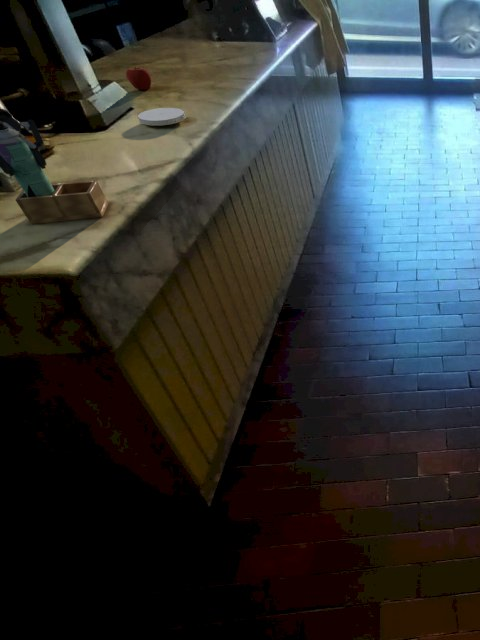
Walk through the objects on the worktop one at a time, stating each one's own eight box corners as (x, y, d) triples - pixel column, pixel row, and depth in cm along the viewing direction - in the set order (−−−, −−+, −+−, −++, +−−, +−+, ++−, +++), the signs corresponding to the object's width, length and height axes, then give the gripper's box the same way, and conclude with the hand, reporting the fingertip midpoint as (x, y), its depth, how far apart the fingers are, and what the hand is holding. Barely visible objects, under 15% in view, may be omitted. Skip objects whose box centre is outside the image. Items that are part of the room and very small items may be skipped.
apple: (129, 88, 200) (120, 65, 195) (151, 85, 204) (142, 62, 199) (136, 93, 196) (126, 69, 191) (158, 89, 201) (149, 67, 195)
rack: (31, 224, 121) (14, 199, 117) (40, 209, 127) (25, 186, 122) (102, 216, 125) (89, 193, 121) (108, 203, 131) (96, 180, 126)
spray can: (59, 203, 127) (8, 116, 113) (68, 210, 125) (16, 122, 111) (34, 210, 124) (-23, 121, 110) (42, 217, 122) (-15, 128, 108)
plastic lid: (168, 130, 169) (165, 122, 167) (131, 126, 171) (127, 118, 169) (196, 118, 179) (193, 110, 177) (160, 113, 181) (157, 106, 179)
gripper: (-70, 96, 106) (-16, 170, 109) (12, 84, 114) (61, 153, 117) (-58, 117, 113) (-6, 187, 115) (20, 104, 121) (66, 170, 123)
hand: (27, 170), depth 116 cm, fingers closed on spray can, 5 cm apart
